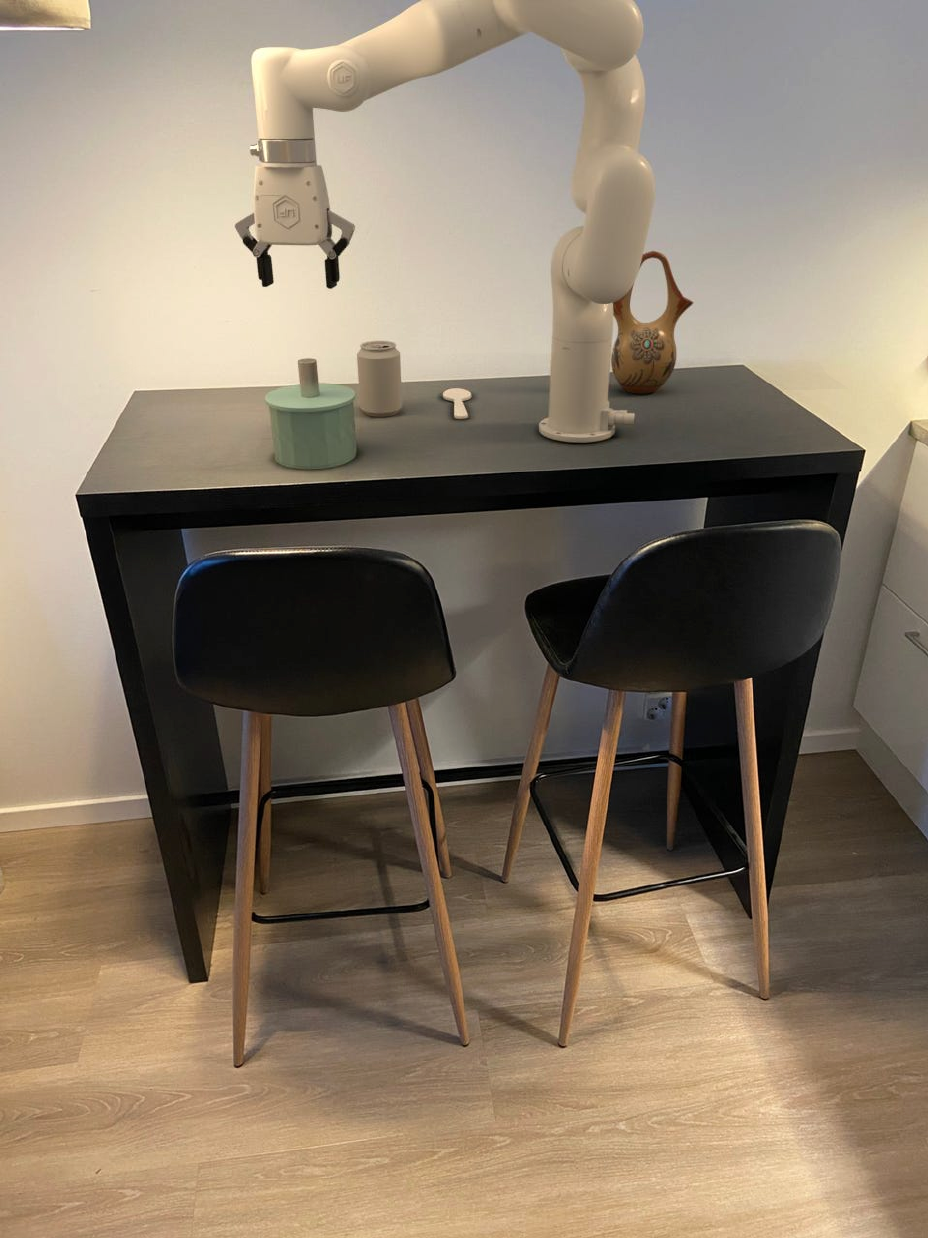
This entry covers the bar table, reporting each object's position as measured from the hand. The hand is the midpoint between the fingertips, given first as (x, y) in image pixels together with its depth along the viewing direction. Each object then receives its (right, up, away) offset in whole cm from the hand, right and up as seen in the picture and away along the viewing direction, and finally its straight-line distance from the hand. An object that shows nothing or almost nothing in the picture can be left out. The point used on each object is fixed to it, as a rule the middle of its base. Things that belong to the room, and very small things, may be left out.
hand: (299, 286), depth 132 cm
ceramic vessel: (+57, -5, +41) cm, 71 cm away
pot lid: (+1, -15, +6) cm, 16 cm away
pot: (+1, -23, +10) cm, 25 cm away
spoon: (+23, -9, +34) cm, 42 cm away
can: (+9, -12, +31) cm, 34 cm away
